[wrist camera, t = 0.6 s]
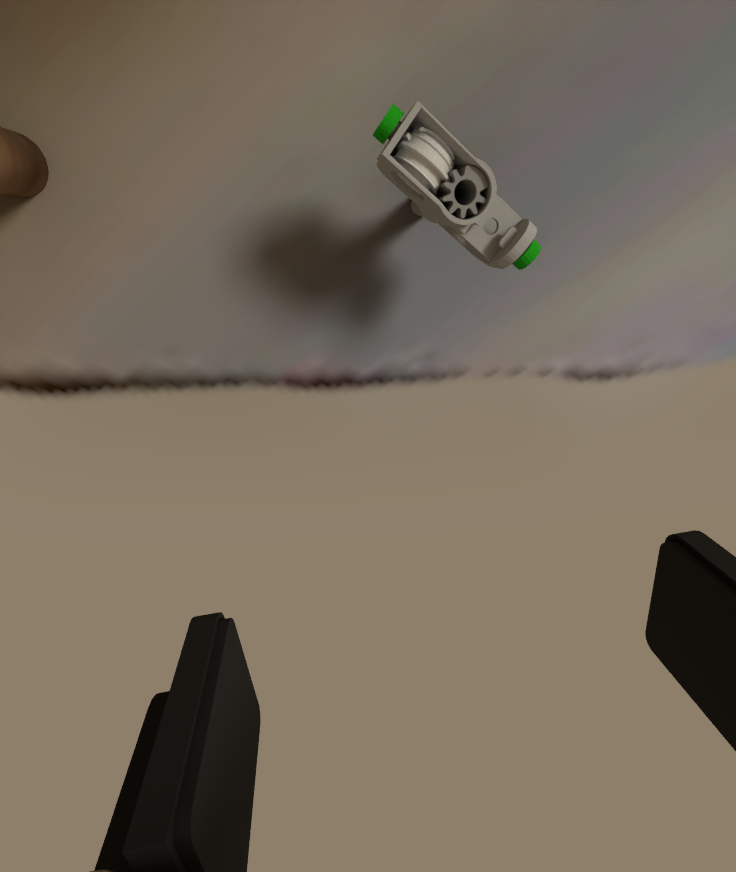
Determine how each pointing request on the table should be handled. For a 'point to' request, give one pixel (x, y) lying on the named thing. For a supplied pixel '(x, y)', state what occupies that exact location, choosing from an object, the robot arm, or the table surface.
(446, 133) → the mechanical component
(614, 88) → the table surface
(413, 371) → the table surface
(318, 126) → the table surface
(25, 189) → the long dowel
